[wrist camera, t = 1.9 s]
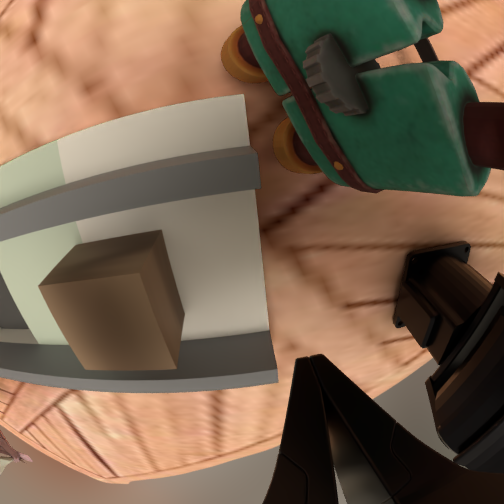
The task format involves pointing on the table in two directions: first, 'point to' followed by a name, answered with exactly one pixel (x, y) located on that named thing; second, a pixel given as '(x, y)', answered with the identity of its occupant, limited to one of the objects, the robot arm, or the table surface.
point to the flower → (9, 453)
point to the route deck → (138, 221)
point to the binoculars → (368, 95)
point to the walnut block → (118, 303)
